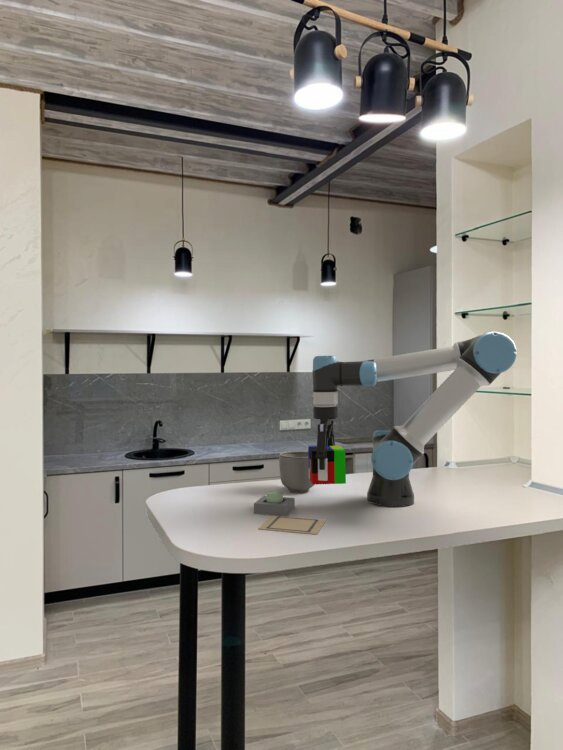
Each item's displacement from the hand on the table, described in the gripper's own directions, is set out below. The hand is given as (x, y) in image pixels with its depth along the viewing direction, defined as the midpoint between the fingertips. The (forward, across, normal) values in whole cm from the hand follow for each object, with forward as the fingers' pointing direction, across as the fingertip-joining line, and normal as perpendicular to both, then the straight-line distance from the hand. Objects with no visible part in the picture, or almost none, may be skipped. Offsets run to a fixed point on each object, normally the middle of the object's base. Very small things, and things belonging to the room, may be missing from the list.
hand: (326, 476), depth 169 cm
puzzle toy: (+2, 0, 0) cm, 2 cm away
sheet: (+10, +20, -6) cm, 23 cm away
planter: (+10, -20, -14) cm, 26 cm away
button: (+8, +7, -15) cm, 18 cm away
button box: (+10, +7, -15) cm, 19 cm away
